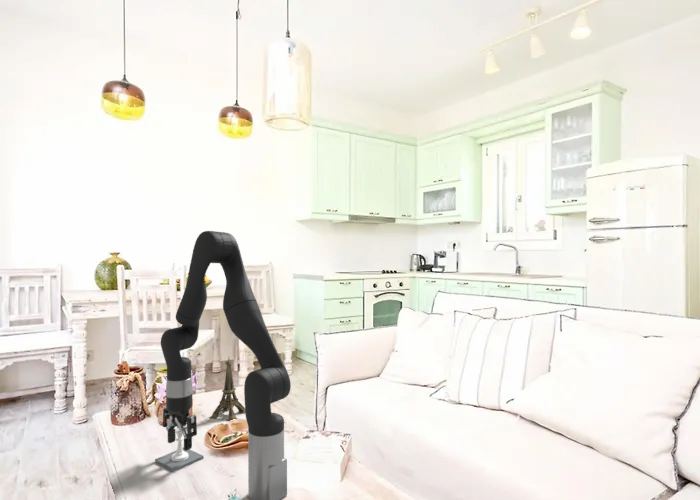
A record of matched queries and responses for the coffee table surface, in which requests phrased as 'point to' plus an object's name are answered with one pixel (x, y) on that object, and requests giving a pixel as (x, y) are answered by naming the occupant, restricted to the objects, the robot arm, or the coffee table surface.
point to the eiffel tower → (228, 397)
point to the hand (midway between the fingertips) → (179, 445)
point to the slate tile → (178, 465)
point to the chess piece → (179, 449)
